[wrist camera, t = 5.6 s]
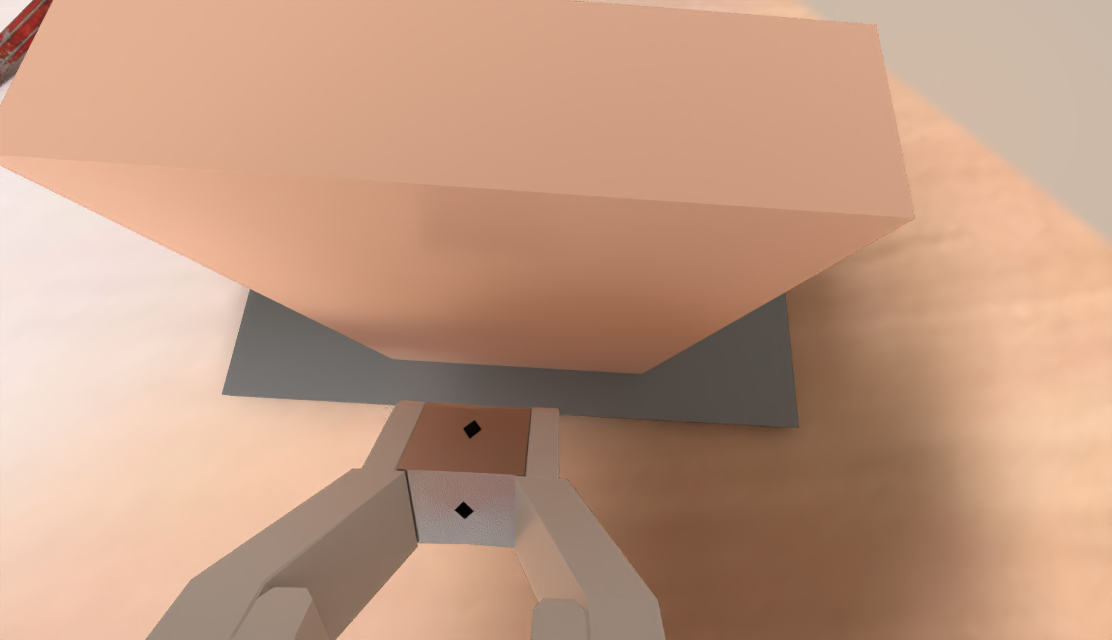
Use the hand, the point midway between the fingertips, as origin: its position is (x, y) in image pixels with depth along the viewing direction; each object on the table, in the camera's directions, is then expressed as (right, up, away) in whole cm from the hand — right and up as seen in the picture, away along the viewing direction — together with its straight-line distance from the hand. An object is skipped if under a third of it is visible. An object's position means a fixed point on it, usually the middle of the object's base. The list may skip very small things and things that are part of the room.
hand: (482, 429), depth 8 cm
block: (0, +2, +5) cm, 6 cm away
